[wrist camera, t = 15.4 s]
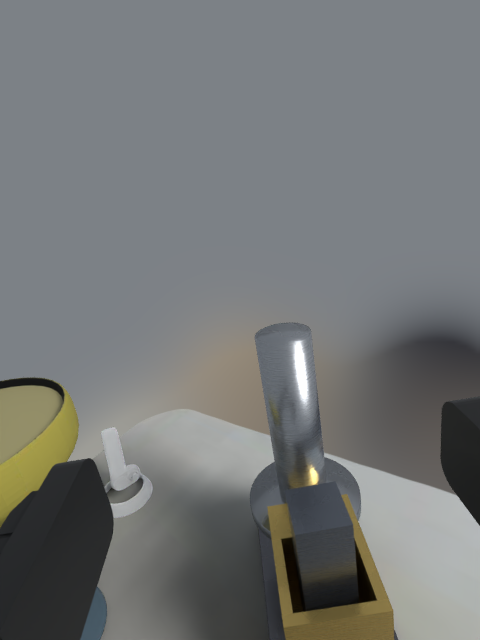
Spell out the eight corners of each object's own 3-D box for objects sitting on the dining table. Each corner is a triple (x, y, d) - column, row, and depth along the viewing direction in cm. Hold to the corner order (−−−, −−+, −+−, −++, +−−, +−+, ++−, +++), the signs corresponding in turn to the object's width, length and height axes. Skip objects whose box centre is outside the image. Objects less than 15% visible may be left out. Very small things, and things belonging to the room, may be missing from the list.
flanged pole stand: (258, 524, 47) (219, 321, 38) (347, 511, 47) (329, 303, 38) (280, 733, 30) (216, 447, 20) (422, 712, 29) (424, 413, 20)
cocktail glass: (-76, 826, 28) (-296, 594, 19) (-34, 606, 44) (-145, 423, 35) (161, 670, 35) (77, 446, 26) (124, 528, 50) (64, 358, 42)
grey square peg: (305, 624, 35) (284, 490, 30) (348, 617, 35) (335, 481, 30) (316, 677, 31) (294, 535, 26) (364, 669, 31) (353, 524, 26)
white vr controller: (126, 427, 63) (140, 418, 58) (147, 502, 60) (164, 499, 55) (78, 442, 58) (89, 433, 53) (99, 524, 55) (112, 523, 50)
